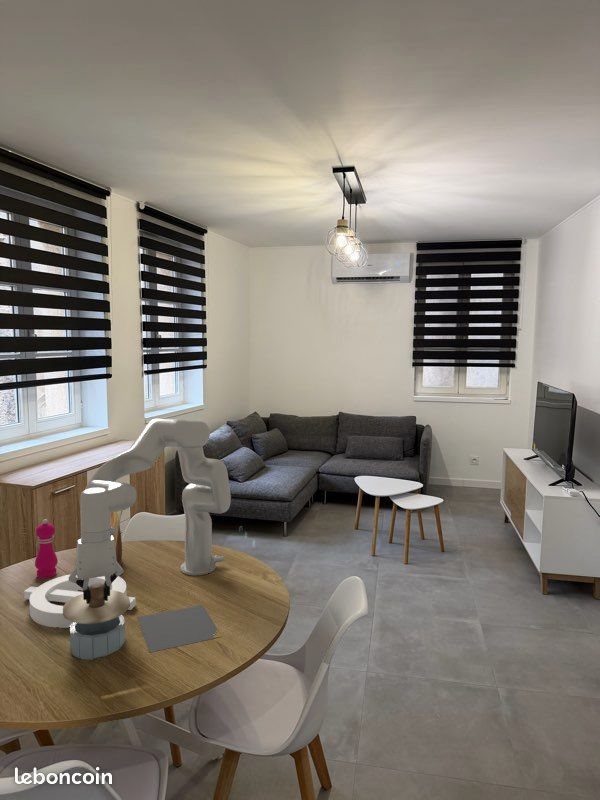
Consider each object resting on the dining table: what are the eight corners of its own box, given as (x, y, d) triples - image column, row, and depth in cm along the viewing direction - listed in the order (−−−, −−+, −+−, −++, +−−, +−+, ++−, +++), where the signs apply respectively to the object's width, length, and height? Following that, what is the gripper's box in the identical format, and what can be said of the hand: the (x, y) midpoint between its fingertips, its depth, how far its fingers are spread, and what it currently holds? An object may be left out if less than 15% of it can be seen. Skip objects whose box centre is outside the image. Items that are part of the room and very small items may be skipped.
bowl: (120, 627, 160) (120, 607, 159) (127, 652, 147) (127, 631, 147) (69, 637, 154) (68, 617, 153) (72, 664, 142) (71, 642, 141)
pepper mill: (61, 570, 196) (60, 516, 194) (50, 579, 189) (49, 523, 187) (42, 569, 197) (41, 515, 195) (30, 578, 190) (29, 522, 188)
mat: (202, 606, 173) (202, 604, 173) (221, 638, 155) (221, 636, 155) (137, 618, 165) (137, 617, 165) (149, 654, 147) (149, 652, 147)
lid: (124, 589, 160) (124, 569, 160) (134, 616, 145) (134, 594, 145) (61, 599, 153) (60, 579, 152) (64, 629, 138) (64, 606, 137)
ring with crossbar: (22, 599, 176) (21, 584, 175) (111, 578, 192) (110, 565, 192) (40, 639, 153) (39, 623, 153) (139, 611, 170) (139, 597, 169)
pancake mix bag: (121, 551, 215) (120, 481, 211) (127, 571, 197) (126, 495, 194) (103, 554, 212) (101, 483, 209) (107, 574, 195) (106, 496, 191)
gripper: (126, 526, 154) (126, 589, 156) (61, 534, 147) (62, 599, 149) (130, 535, 147) (130, 600, 149) (62, 543, 140) (63, 612, 142)
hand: (96, 599), depth 149 cm, fingers closed on lid, 4 cm apart
